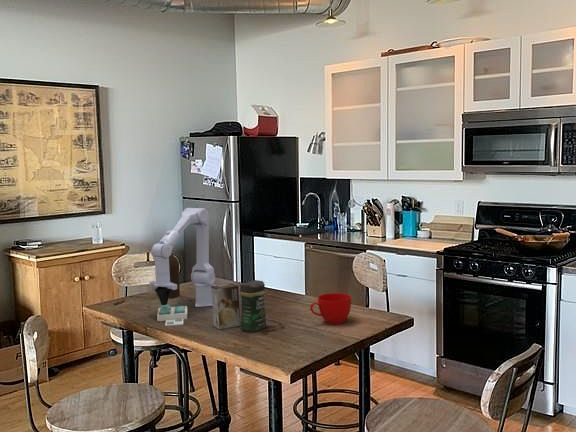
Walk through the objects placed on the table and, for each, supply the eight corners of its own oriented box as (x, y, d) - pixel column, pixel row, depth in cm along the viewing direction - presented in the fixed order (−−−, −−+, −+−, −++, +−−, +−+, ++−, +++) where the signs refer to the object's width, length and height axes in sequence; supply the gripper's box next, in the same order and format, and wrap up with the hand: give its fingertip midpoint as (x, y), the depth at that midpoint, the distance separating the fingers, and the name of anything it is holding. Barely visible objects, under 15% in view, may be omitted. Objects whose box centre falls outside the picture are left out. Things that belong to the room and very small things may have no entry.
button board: (187, 311, 255) (187, 305, 255) (187, 319, 243) (186, 313, 243) (159, 313, 253) (158, 308, 253) (157, 321, 241) (157, 315, 241)
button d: (169, 313, 247) (169, 307, 247) (169, 315, 243) (169, 309, 243) (160, 313, 246) (160, 307, 246) (160, 316, 242) (159, 310, 242)
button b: (184, 312, 248) (184, 306, 247) (184, 314, 244) (183, 308, 244) (175, 312, 247) (174, 306, 247) (174, 315, 243) (174, 309, 243)
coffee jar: (253, 333, 220) (251, 284, 218) (237, 330, 225) (235, 282, 223) (270, 327, 228) (268, 280, 226) (254, 324, 233) (252, 277, 231)
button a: (184, 311, 254) (184, 305, 253) (184, 313, 250) (184, 307, 250) (175, 311, 253) (175, 306, 253) (175, 314, 249) (175, 308, 249)
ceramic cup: (304, 321, 234) (303, 296, 233) (341, 315, 240) (341, 291, 239) (318, 330, 222) (317, 304, 221) (357, 323, 229) (357, 298, 228)
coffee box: (234, 322, 237) (232, 282, 235) (240, 325, 231) (239, 285, 229) (213, 325, 233) (211, 285, 231) (218, 329, 227) (216, 288, 225)
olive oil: (185, 296, 283) (182, 244, 280) (164, 300, 277) (161, 247, 274) (175, 292, 291) (172, 242, 289) (154, 296, 285) (151, 245, 282)
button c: (170, 309, 253) (170, 303, 252) (170, 311, 249) (169, 305, 249) (161, 310, 252) (160, 304, 252) (160, 312, 248) (160, 306, 248)
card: (183, 319, 243) (183, 318, 242) (183, 324, 236) (183, 323, 236) (166, 321, 241) (166, 319, 241) (165, 325, 235) (165, 324, 235)
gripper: (143, 272, 244) (144, 304, 245) (167, 275, 235) (169, 309, 237) (156, 269, 249) (157, 301, 251) (180, 272, 241) (182, 305, 242)
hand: (164, 304), depth 244 cm, fingers closed
